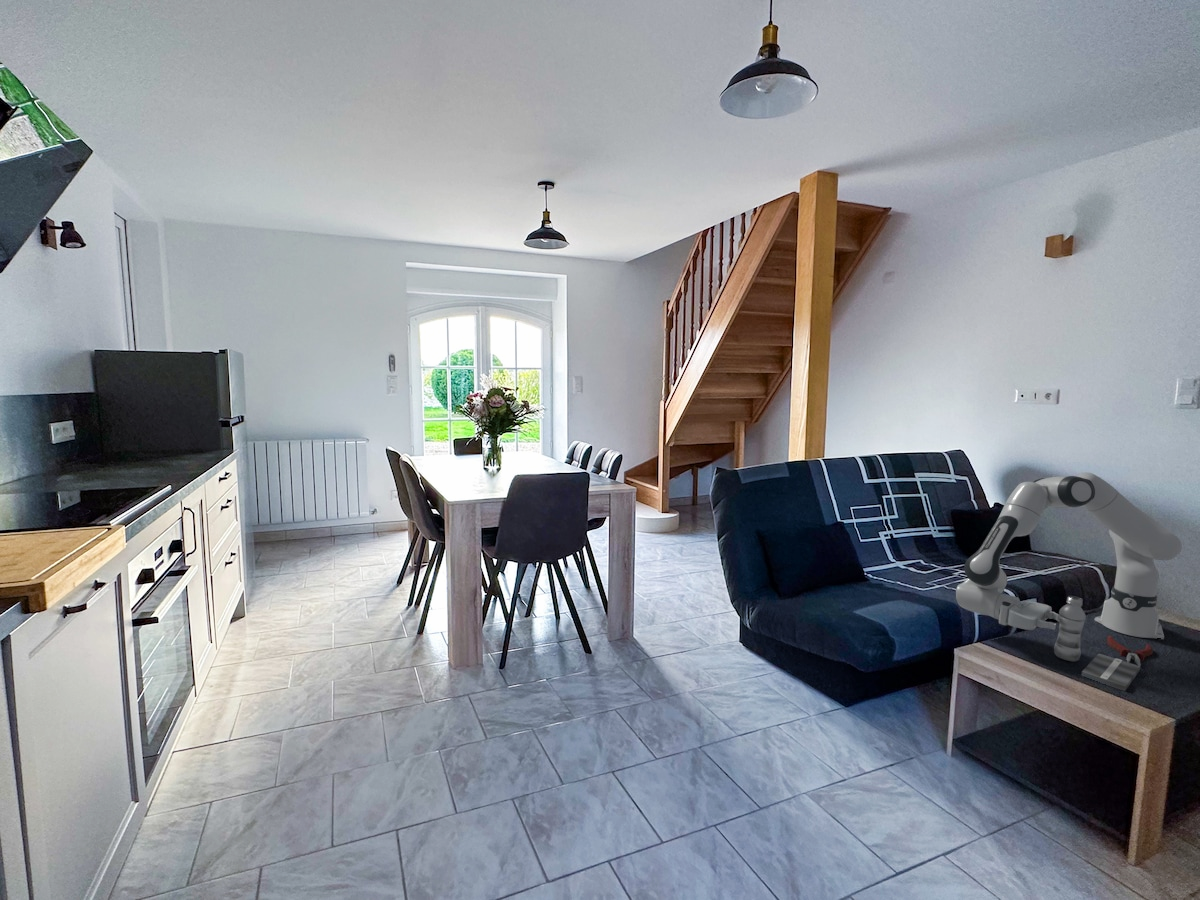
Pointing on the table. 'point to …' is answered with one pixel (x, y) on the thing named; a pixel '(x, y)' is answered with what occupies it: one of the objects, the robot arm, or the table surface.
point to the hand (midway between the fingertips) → (1060, 623)
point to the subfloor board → (1111, 671)
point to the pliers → (1126, 652)
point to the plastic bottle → (1070, 630)
